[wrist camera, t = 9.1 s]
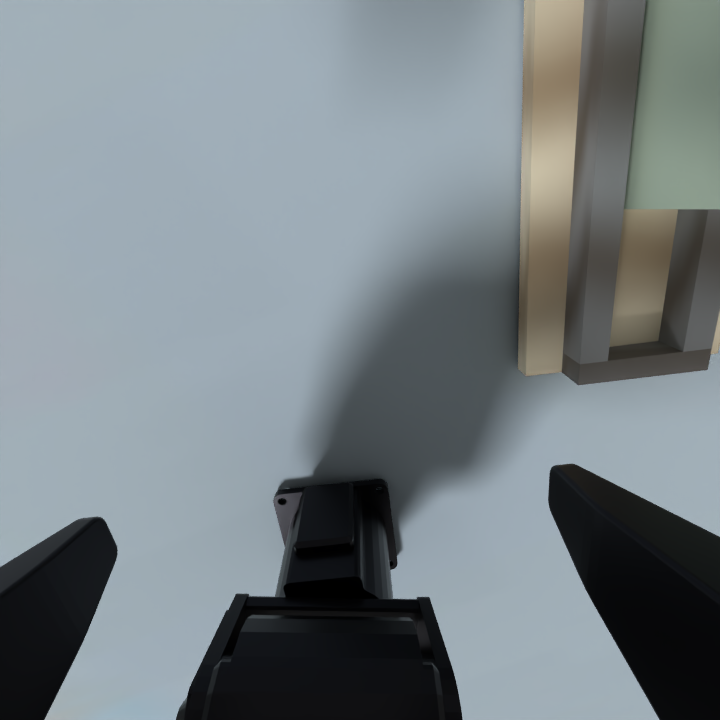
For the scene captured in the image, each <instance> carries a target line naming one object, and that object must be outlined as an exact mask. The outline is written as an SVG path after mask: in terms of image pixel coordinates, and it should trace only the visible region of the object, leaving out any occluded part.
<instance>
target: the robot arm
mask: <svg viewBox="0 0 720 720" xmlns="http://www.w3.org/2000/svg"><path fill="white" fill-rule="evenodd" d="M378 487H381V488H382V489H380V490H377V489H376V488H378ZM280 498H284V499H286V500H281V499H280ZM548 502H549V508H550V511H551V513H552V516H553V518H554V520H555V522H556V525H557V527H558V529H559V531H560V534H561V536H562V538H563V540H564V543H565V545H566V547H567V549H568V552H569V554H570V556H571V558H572V561H573V563H574V565H575V567H576V570H577V572H578V574H579V576H580V578H581V581H582V583H583V585H584V587H585V589H586V591H587V593H588V595H589V596H590V598H591V600H592V602H593V604H594V606H595V607H596V609H597V611H598V613H599V614H600V616H601V618H602V620H603V621H604V623H605V625H606V627H607V628H608V630H609V632H610V634H611V635H612V637H613V639H614V641H615V642H616V644H617V646H618V648H619V649H620V651H621V653H622V655H623V656H624V658H625V660H626V662H627V663H628V665H629V667H630V669H631V670H632V672H633V674H634V676H635V677H636V679H637V681H638V683H639V684H640V686H641V688H642V690H643V691H644V693H645V695H646V697H647V698H648V700H649V702H650V704H651V705H652V707H653V709H654V711H655V713H656V714H657V716H658V718H659V720H720V537H719V536H717V535H715V534H713V533H711V532H709V531H707V530H705V529H703V528H701V527H699V526H697V525H695V524H693V523H691V522H689V521H687V520H685V519H683V518H681V517H679V516H677V515H675V514H673V513H671V512H669V511H667V510H665V509H663V508H661V507H659V506H657V505H655V504H653V503H651V502H649V501H647V500H645V499H643V498H641V497H639V496H637V495H635V494H633V493H631V492H629V491H627V490H625V489H623V488H621V487H619V486H617V485H615V484H613V483H611V482H609V481H607V480H605V479H603V478H601V477H599V476H597V475H595V474H593V473H592V472H590V471H588V470H586V469H584V468H582V467H580V466H578V465H575V464H564V465H555V466H553V467H552V468H551V470H550V477H549V495H548ZM274 506H275V510H276V514H277V518H278V522H279V526H280V529H281V533H282V537H283V541H284V545H285V551H284V555H283V560H282V565H281V570H280V575H279V580H278V584H277V589H276V594H275V597H262V596H249V594H236V595H235V597H234V600H233V602H232V604H231V606H230V608H229V610H227V611H226V613H225V615H224V617H223V619H222V621H221V623H220V625H219V627H218V629H217V631H216V633H215V636H214V638H213V640H212V642H211V644H210V646H209V648H208V650H207V652H206V654H205V656H204V658H203V661H202V663H201V665H200V667H199V669H198V671H197V673H196V675H195V677H194V679H193V681H192V684H191V686H190V688H189V692H188V696H187V698H186V699H185V701H184V702H183V704H182V705H181V706H180V708H179V711H178V714H177V718H176V720H462V712H461V706H460V700H459V694H458V689H457V685H456V680H455V676H454V673H453V669H452V666H451V663H450V660H449V657H448V653H447V650H446V647H445V644H444V641H443V638H442V635H441V632H440V629H439V626H438V623H437V620H436V617H435V613H434V610H433V607H432V604H431V601H430V598H429V597H417V599H393V594H392V584H391V573H390V570H391V569H394V568H396V566H397V555H396V547H395V539H394V531H393V524H392V516H391V508H390V500H389V492H388V485H387V482H386V481H385V480H382V479H373V480H364V481H355V482H346V483H337V484H328V485H319V486H311V487H302V488H293V489H285V490H279V491H278V492H276V494H275V496H274ZM116 558H117V546H116V543H115V541H114V539H113V537H112V534H111V532H110V530H109V528H108V526H107V524H106V522H105V520H104V519H103V518H101V517H90V518H82V519H78V520H76V521H74V522H73V523H71V524H70V525H68V526H66V527H65V528H63V529H61V530H60V531H58V532H57V533H55V534H53V535H52V536H50V537H48V538H47V539H45V540H44V541H42V542H40V543H39V544H37V545H35V546H34V547H32V548H31V549H29V550H27V551H26V552H24V553H22V554H21V555H19V556H18V557H16V558H14V559H13V560H11V561H9V562H8V563H6V564H5V565H3V566H1V567H0V720H44V719H45V717H46V715H47V713H48V711H49V709H50V707H51V705H52V703H53V701H54V699H55V697H56V695H57V693H58V691H59V689H60V687H61V685H62V683H63V681H64V679H65V677H66V675H67V673H68V671H69V669H70V667H71V665H72V663H73V661H74V659H75V657H76V655H77V653H78V651H79V649H80V647H81V645H82V643H83V641H84V638H85V636H86V633H87V631H88V629H89V626H90V624H91V621H92V619H93V616H94V614H95V611H96V609H97V606H98V604H99V601H100V599H101V596H102V594H103V591H104V589H105V586H106V584H107V581H108V579H109V576H110V574H111V571H112V569H113V566H114V564H115V561H116Z"/></svg>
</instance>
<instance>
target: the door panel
mask: <svg viewBox="0 0 720 720" xmlns="http://www.w3.org/2000/svg"><path fill="white" fill-rule="evenodd" d="M624 209H720V0H646V3H645V13H644V22H643V32H642V41H641V51H640V60H639V70H638V79H637V89H636V98H635V108H634V117H633V127H632V136H631V146H630V155H629V165H628V174H627V184H626V193H625V203H624Z"/></svg>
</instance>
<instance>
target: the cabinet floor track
mask: <svg viewBox="0 0 720 720" xmlns="http://www.w3.org/2000/svg"><path fill="white" fill-rule="evenodd" d="M645 3H646V0H524V42H523V101H522V159H521V218H520V276H519V334H518V369H519V370H520V371H521V372H522V373H523V374H524V375H525V376H533V375H541V374H550V373H558V372H562V373H564V374H565V375H566V376H567V377H569V378H570V379H571V380H572V381H574V382H575V383H576V384H577V385H584V384H592V383H600V382H609V381H617V380H626V379H634V378H642V377H651V376H659V375H667V374H676V373H684V372H693V371H701V370H707V369H708V365H709V360H710V355H711V354H715V353H718V350H719V345H720V209H624V203H625V193H626V184H627V174H628V165H629V155H630V146H631V136H632V127H633V117H634V108H635V98H636V89H637V79H638V70H639V60H640V51H641V41H642V32H643V22H644V13H645Z"/></svg>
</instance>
